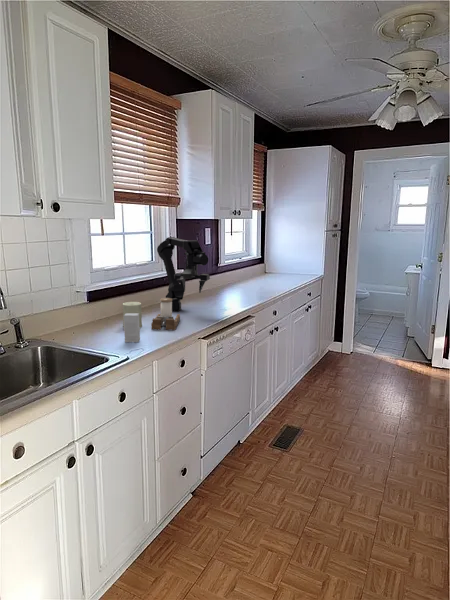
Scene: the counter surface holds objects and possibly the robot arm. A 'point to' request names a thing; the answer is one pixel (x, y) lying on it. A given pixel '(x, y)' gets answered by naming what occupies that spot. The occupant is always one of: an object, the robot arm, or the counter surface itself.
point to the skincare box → (131, 327)
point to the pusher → (164, 319)
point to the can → (132, 310)
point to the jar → (166, 307)
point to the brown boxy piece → (170, 323)
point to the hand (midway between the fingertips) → (192, 292)
